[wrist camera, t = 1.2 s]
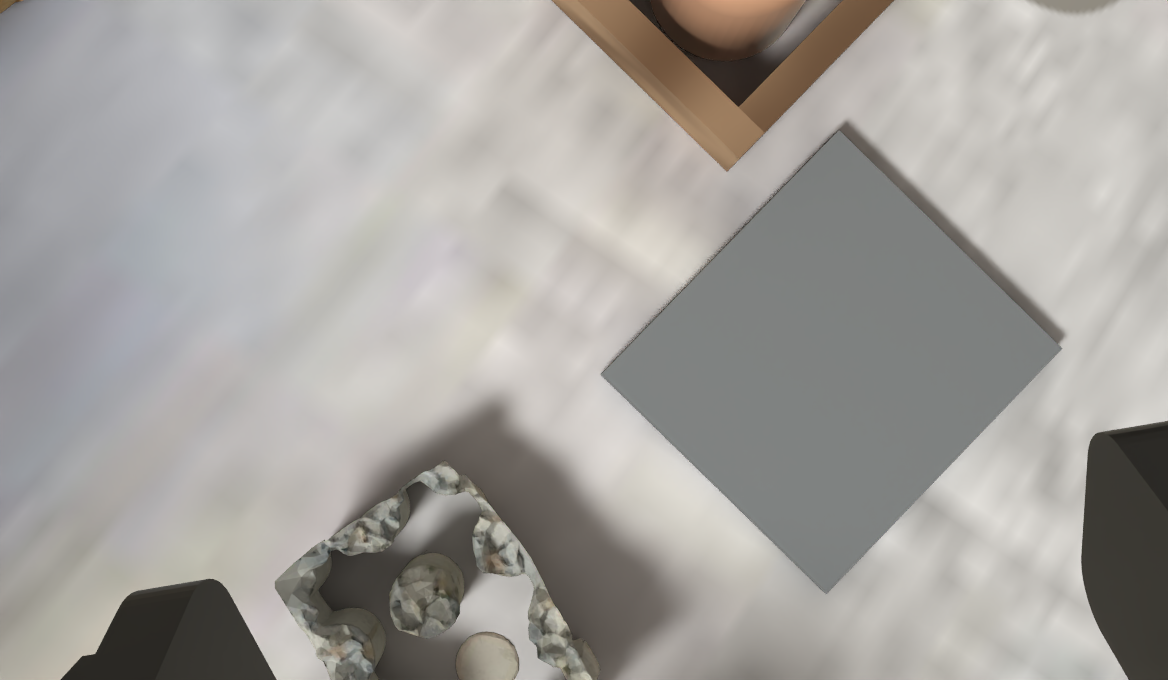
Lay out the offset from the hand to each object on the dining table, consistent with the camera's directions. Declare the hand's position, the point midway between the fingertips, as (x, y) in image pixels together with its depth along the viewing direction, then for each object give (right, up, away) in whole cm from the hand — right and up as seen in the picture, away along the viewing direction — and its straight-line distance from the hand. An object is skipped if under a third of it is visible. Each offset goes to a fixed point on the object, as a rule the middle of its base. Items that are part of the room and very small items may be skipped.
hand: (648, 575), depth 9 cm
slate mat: (+8, +1, +27) cm, 28 cm away
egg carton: (-5, -8, +27) cm, 28 cm away
